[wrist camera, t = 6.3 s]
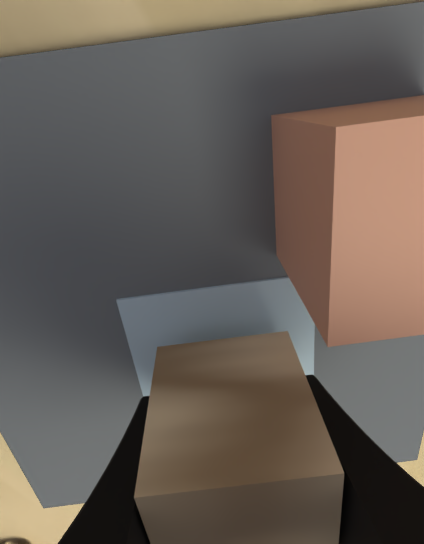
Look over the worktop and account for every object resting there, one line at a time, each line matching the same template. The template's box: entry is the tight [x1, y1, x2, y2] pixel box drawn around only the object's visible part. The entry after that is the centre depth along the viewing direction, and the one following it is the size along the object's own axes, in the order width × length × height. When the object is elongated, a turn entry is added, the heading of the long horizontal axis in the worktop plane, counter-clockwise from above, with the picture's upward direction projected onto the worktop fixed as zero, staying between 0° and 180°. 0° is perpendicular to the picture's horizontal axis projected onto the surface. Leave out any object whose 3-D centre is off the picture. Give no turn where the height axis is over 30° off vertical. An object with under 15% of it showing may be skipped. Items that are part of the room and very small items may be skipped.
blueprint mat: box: [0, 2, 424, 508], centre depth 12 cm, size 17×17×1 cm
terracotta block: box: [271, 95, 424, 347], centre depth 8 cm, size 4×4×4 cm
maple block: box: [134, 331, 344, 544], centre depth 9 cm, size 4×4×4 cm
